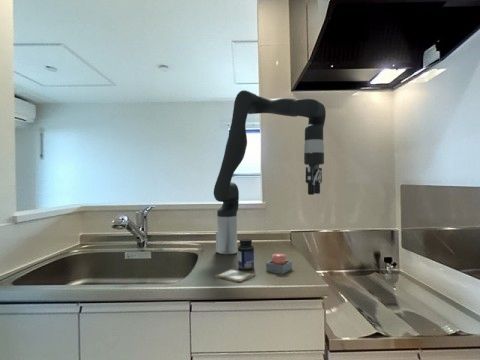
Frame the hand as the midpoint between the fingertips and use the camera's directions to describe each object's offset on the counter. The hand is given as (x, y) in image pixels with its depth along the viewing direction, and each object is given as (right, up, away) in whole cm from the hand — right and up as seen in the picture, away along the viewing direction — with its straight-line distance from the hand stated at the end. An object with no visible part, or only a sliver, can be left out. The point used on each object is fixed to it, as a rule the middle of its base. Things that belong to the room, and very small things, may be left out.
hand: (314, 194), depth 114 cm
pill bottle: (-26, -29, -1) cm, 39 cm away
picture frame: (-31, -28, -11) cm, 43 cm away
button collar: (-14, -28, -4) cm, 32 cm away
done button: (-14, -27, -4) cm, 30 cm away
